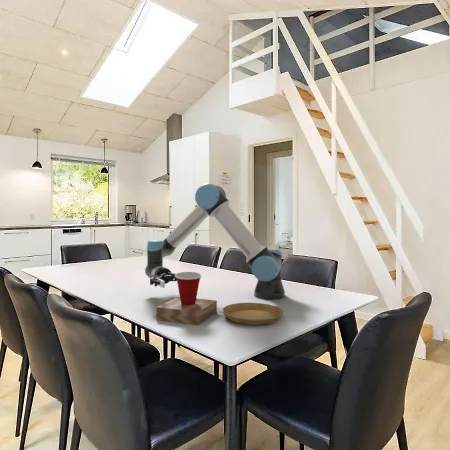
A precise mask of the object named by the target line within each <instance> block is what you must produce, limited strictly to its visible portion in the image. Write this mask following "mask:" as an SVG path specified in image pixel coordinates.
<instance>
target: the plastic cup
mask: <svg viewBox="0 0 450 450" xmlns="http://www.w3.org/2000/svg"><path fill="white" fill-rule="evenodd" d="M175 277H176V279H177V281H176V282H177V289H178V294H179V297H180V300H181V304H183V305H193V304H195V302H196V298H197V296H198V290H199V285H200V281H201V278H202V273H200V272H195V271H181V272H176V274H175Z"/></svg>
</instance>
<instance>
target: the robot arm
mask: <svg viewBox="0 0 450 450" xmlns="http://www.w3.org/2000/svg"><path fill="white" fill-rule="evenodd" d="M226 195H227V194H226V192H225V190H224V189H223V188H222V187H221V186H219V185H216V184H213V183H204V184H202V185H200V186H199V187H198V188H197V189H196V191H195V194H194V199H195V203H196V205H197V206H196V207H195V208H193V210H192V211H191V212H190V213H189V214H188V215H187V216H185V218H184V219H183V220H181V222H180V223H179V224H178V225H177V226H176V227H175V228H174V229H173V230H172V231H171V232H170V234H168V235H167V236H166V238H164V239H163V240H160V239H151V240H148V241H147V247H146V253H147V254H146V255H147V257H146V258H147V259H146V260H147V262H146V263H147V264H146V266H145V268H144V273H145V276H147V277H148V278H149V285H151V286H152V285H154V287H155V288H156V287H158V286H159V287H161V288H163V289H165V288H166V287H165V285H166V284H168V283H169V282H177V279H176V277H175V274H177V272H176V273H175V272H174V273H173V272H172V271H171V269H169V268H167V267H164V264H163V263H164V262H163V261H164V260H163V259H164V258H165V257H169V256H171V255H172V254H174V253H175V251H176V248H178V247H179V246H180V245H181V243H183V242H184V241H185V240H186V239H187V238H188V237H189V236H190V234H192V233H193V232H194V231H195V230H196V229H197V228H198V227H199V226H200V225H201V224H202V223H203V222H204V221H205V220H206V219H207V218H208V217H210V218H215V220H216V221H217V222H218V223H219V225H220V226H221V227H222V229H223V230H224V231H225V232H226V233H227V235H228V236H229V237H230V238H231V240H232V241H233V242H234V243H235V245H236V246H237V247H238V249H239V250H240V251H241V252H242V254H243V255H244V256H245V258H246V261H245V262H246V264H247V265H248V266H249V267H250V269H251V272H252V274H253V277H255V279H257V281H256V284H255V287H254V290H253V291H254V294H253V295H254V297H256V298H259V299H265V300H279V299H283V298H285V297H286V291H285V288H284V285H283V284H284V283H283V281H282V268H283V267H282V258H283V255H282V254H283V253H282V251H281V250H279V249H268V247H267V246H265V245H261V243H260V242H258V240H257V239H256V237H255V236H254V235H253V234H252V233H251V231H250V230H249V229H248V228H247V226H245V224H244V223H243V221H241V219H240V218H239V217H238V216H237V214H236V213H235V212H234V211H233V210H232V208H231V207H230V201H229V199H228V198H227V196H226Z"/></svg>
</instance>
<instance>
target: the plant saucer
mask: <svg viewBox="0 0 450 450" xmlns="http://www.w3.org/2000/svg"><path fill="white" fill-rule="evenodd" d="M222 313H223V314H224V316H225V317H226V318H227V319H228V320H230V321H231V322H233V323H237V324H242V325H246V326H264V325H270V324H274V323H276V322H278V321H279V320H280V319H281V318H282V316H283V315H284V310H283V309H282V308H280V307H278V306H275V305H272V304H267V303H262V302H261V303H260V302H237V303H231V304H229V305H226V306H224V307H223V308H222Z"/></svg>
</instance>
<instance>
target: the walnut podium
mask: <svg viewBox="0 0 450 450" xmlns="http://www.w3.org/2000/svg"><path fill="white" fill-rule="evenodd" d="M217 303H218V300H216V299H215V300H213V299H204V298H197V297H196V302H195V304H193V305H183V304H181V300H180V296H177V297H175V298H173V299H171V300H168V301H166V302H164V303H161V304H159V305H158V306H156V308H155V309H156V312H155V314H156V316H155V317H156V318H155V320H157V321H164V322H171V323H172V322H173V323H179V324H187V325H194V326H199V325H201V324H202V323H203V322H205V321H206V320H208V319H209V318H211V317H212V316H213V315H215V314H217V312H218V304H217Z"/></svg>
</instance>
